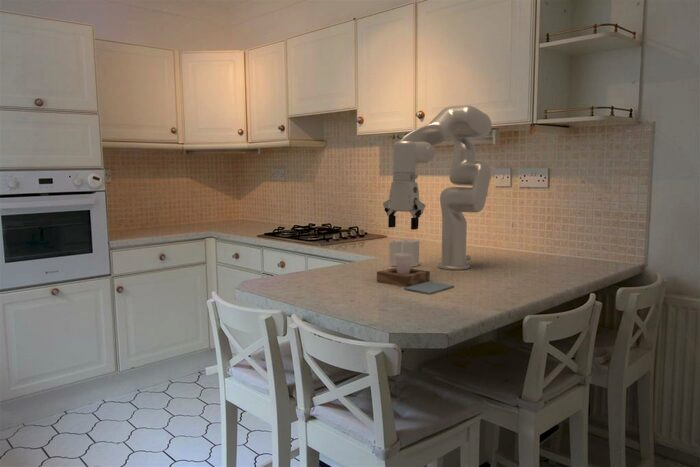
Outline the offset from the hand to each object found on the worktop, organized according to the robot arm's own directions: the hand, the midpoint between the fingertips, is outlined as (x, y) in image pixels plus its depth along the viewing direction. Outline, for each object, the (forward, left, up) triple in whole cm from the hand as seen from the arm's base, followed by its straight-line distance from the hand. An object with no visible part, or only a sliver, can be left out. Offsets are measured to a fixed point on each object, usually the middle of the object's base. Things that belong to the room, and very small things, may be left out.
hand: (403, 228), depth 184 cm
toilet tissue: (-27, -19, -19) cm, 38 cm away
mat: (+2, +13, -19) cm, 23 cm away
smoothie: (-1, 0, -19) cm, 19 cm away
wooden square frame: (-1, 0, -19) cm, 19 cm away
